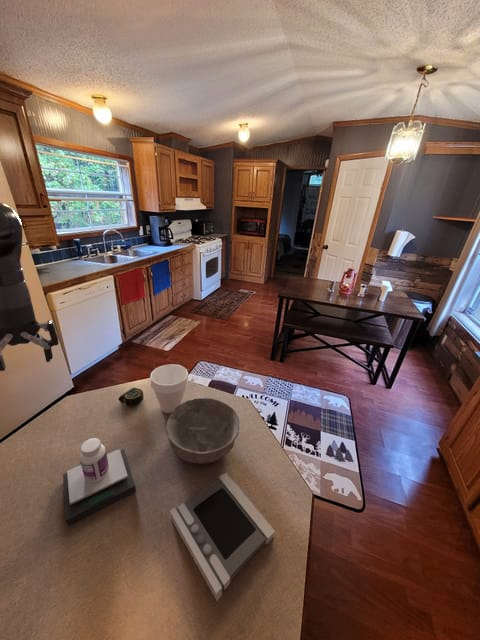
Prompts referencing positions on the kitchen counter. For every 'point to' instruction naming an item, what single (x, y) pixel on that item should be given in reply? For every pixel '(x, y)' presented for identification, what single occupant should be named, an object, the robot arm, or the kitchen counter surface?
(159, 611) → the kitchen counter surface
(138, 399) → the tape measure
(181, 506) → the alarm clock
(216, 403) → the bowl
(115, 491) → the scale
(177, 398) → the cup
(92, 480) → the pill bottle
